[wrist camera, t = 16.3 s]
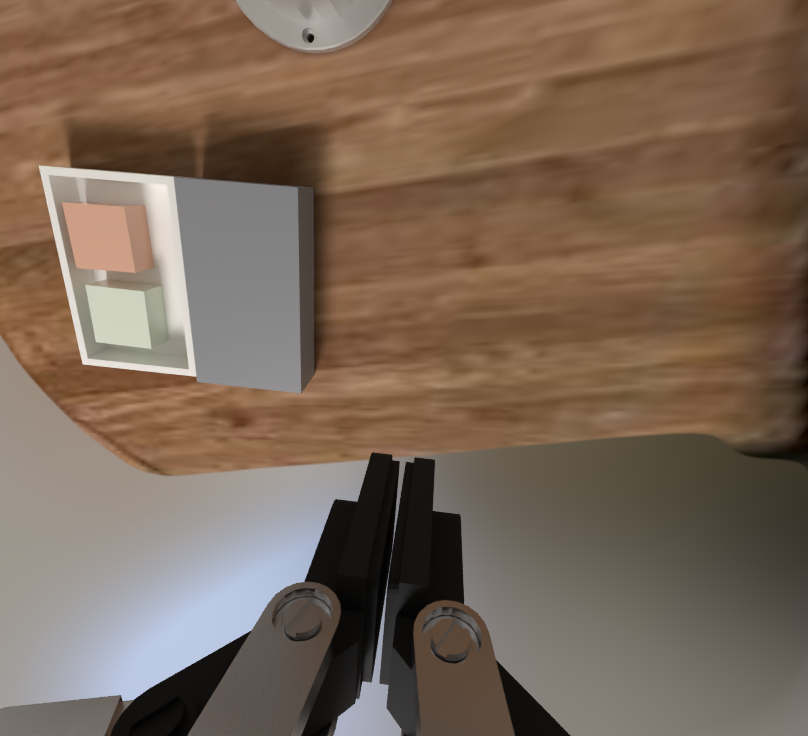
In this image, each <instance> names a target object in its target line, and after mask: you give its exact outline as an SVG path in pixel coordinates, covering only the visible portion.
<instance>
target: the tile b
mask: <svg viewBox="0 0 808 736" xmlns="http://www.w3.org/2000/svg"><path fill="white" fill-rule="evenodd" d="M85 286H86V292H87V297H88V302H89V308H90V313H91V319H92V324H93V329H94V335H95V340H96V342H99V343H107V344H115V345H123V346H131V347H139V348H147V349H153V348H154V347H156V346H158V345H160V344H162V343H164V342H165V341H167V340H169V339H168V331H167V322H166V314H165V305H164V297H163V288H162V285H154V284H146V283H137V282H128V281H120V280H111V279H105V280H101V281H98V282H94V283H90V284H86V285H85Z"/></svg>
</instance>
